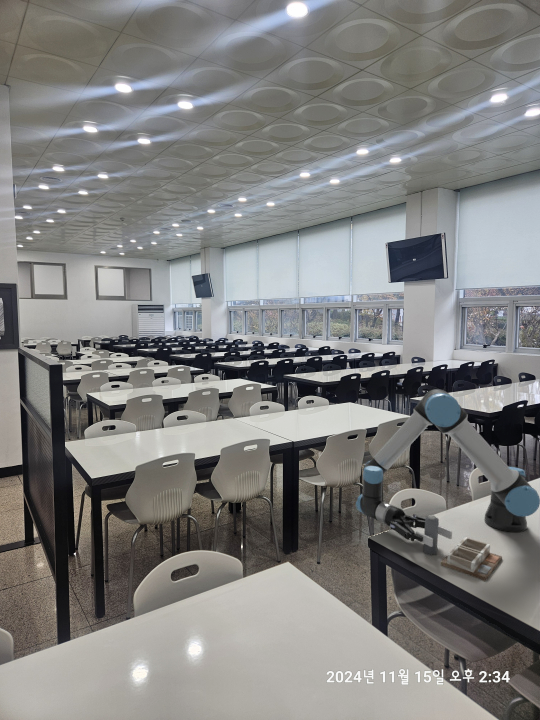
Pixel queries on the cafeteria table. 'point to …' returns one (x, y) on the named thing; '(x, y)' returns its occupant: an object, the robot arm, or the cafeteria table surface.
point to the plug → (431, 534)
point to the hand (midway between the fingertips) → (441, 538)
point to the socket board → (472, 558)
